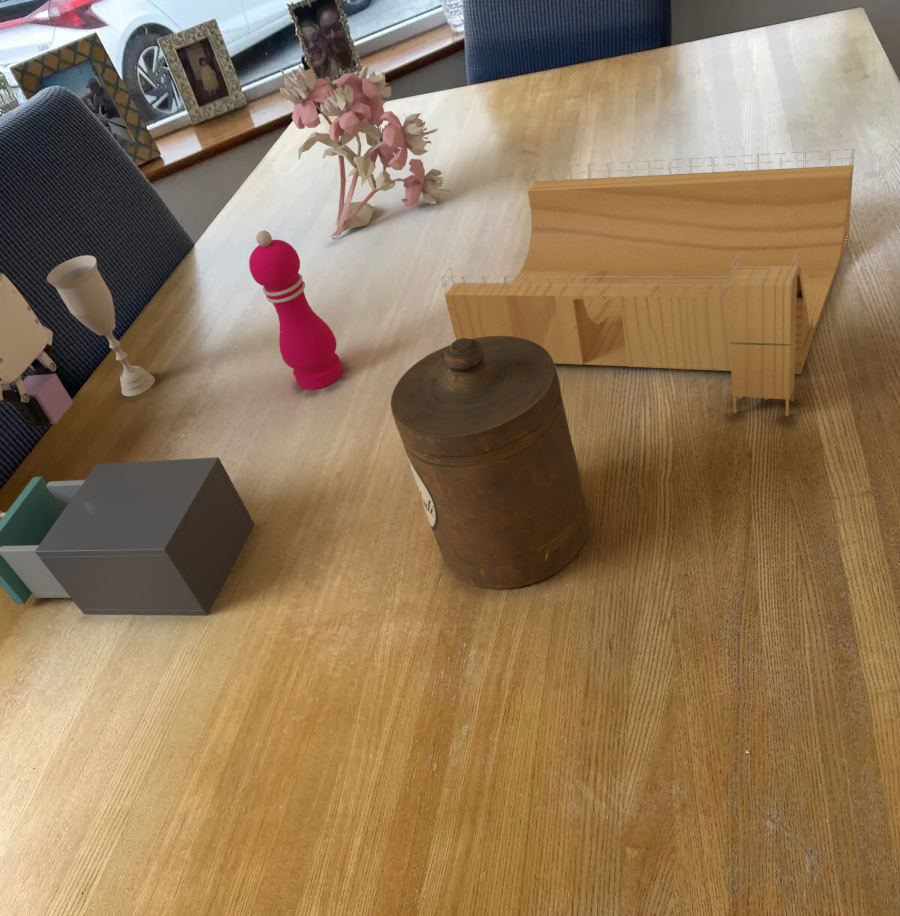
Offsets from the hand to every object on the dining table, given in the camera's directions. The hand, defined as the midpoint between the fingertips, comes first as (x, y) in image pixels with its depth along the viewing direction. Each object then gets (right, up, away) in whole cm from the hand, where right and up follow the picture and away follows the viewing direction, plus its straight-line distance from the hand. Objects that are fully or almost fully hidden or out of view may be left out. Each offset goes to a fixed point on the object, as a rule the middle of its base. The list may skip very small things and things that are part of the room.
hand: (49, 411), depth 120 cm
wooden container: (+57, -18, -27) cm, 66 cm away
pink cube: (0, 0, 0) cm, 0 cm away
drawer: (+8, -20, -13) cm, 25 cm away
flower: (+43, +39, +32) cm, 66 cm away
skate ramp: (+75, +10, -6) cm, 76 cm away
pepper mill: (+34, +5, +3) cm, 35 cm away
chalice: (+7, +6, +14) cm, 17 cm away
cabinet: (+20, -20, -17) cm, 33 cm away
